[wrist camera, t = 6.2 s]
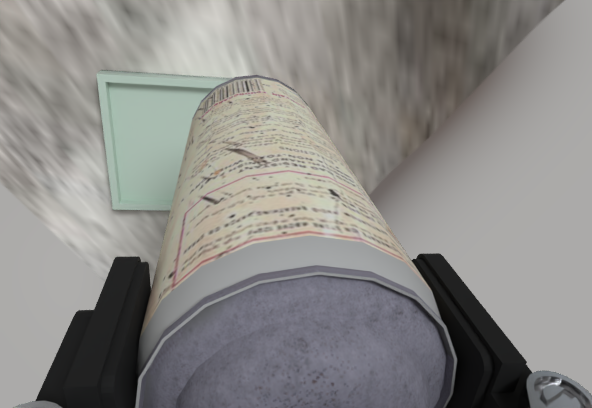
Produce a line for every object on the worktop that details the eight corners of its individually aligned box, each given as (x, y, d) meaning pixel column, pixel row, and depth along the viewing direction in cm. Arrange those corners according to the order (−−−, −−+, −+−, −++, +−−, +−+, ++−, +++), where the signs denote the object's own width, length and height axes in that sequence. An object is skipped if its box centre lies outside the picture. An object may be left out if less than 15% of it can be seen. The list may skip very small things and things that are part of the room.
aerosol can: (164, 150, 23) (-24, 671, 6) (241, 46, 22) (318, 337, 4) (264, 216, 26) (346, 709, 8) (340, 128, 24) (651, 521, 7)
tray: (251, 79, 38) (251, 83, 36) (246, 204, 43) (246, 211, 42) (101, 70, 36) (96, 73, 34) (116, 201, 41) (112, 209, 40)
